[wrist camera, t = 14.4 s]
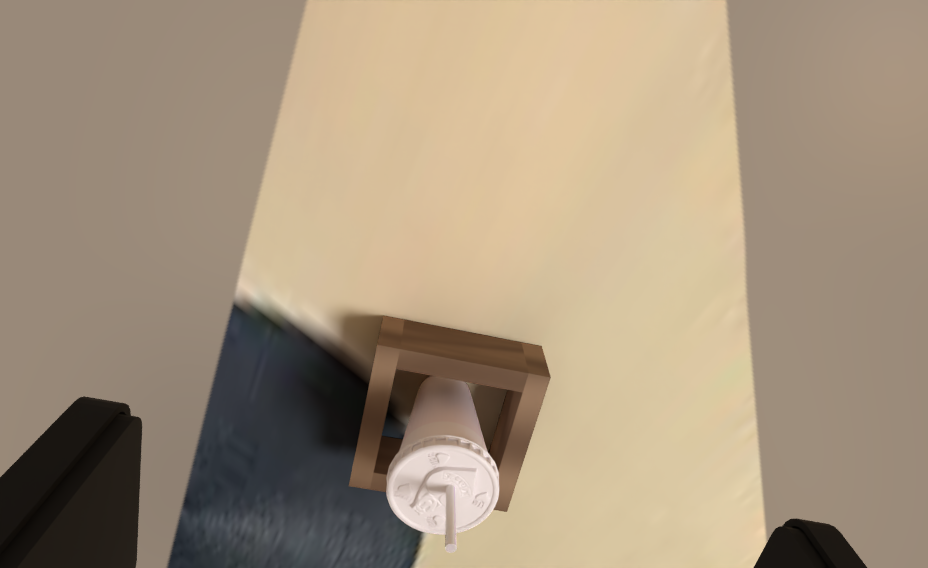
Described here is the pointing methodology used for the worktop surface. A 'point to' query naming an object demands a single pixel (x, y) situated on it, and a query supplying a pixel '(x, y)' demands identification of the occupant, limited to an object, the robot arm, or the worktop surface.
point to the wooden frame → (455, 360)
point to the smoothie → (443, 464)
